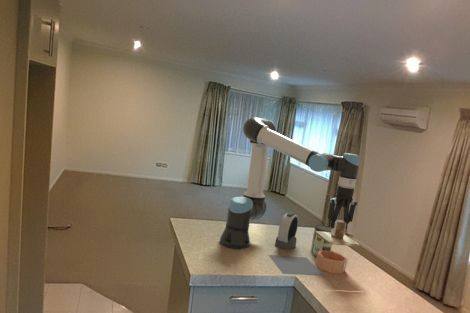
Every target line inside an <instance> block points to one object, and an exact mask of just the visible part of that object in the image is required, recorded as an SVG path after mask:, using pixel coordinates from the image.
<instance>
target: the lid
mask: <svg viewBox="0 0 470 313" xmlns="http://www.w3.org/2000/svg"><path fill="white" fill-rule="evenodd" d="M336 222H337V227H336V232H335V236H333V235H332V234H331V232H321V231H315V233H316V234H317V235H318V236H319V237H321V238H322V239H323V240H325V241H326V242H327V243H328V244H331V245H332V246H347V247H349V246H350V247H360V243H359V242H357V241H355V240H354V239H352V238H351V237H349V236H348V235H347V234H345V233H344V230H345V231H346V229H345V225H346V223H345V222H344V220H343V219H337V220H336ZM343 235H344V236H343Z"/></svg>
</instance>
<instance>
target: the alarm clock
mask: <svg viewBox="0 0 470 313" xmlns="http://www.w3.org/2000/svg"><path fill="white" fill-rule="evenodd" d="M298 217H299V216H298V215H296V213H295V212H293V211H292V212H291V211H288V212H286V213H285V214H284V215H283V217H282V218H281V220H280V224H279V226H278V227H279V228H278V232H277V236H276V239H275V243H274V247H279V248H281V249H285V250H292V249H296V246H297V241H298V240H297V237H296V235H297V232H298V226H299V218H298Z"/></svg>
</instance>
